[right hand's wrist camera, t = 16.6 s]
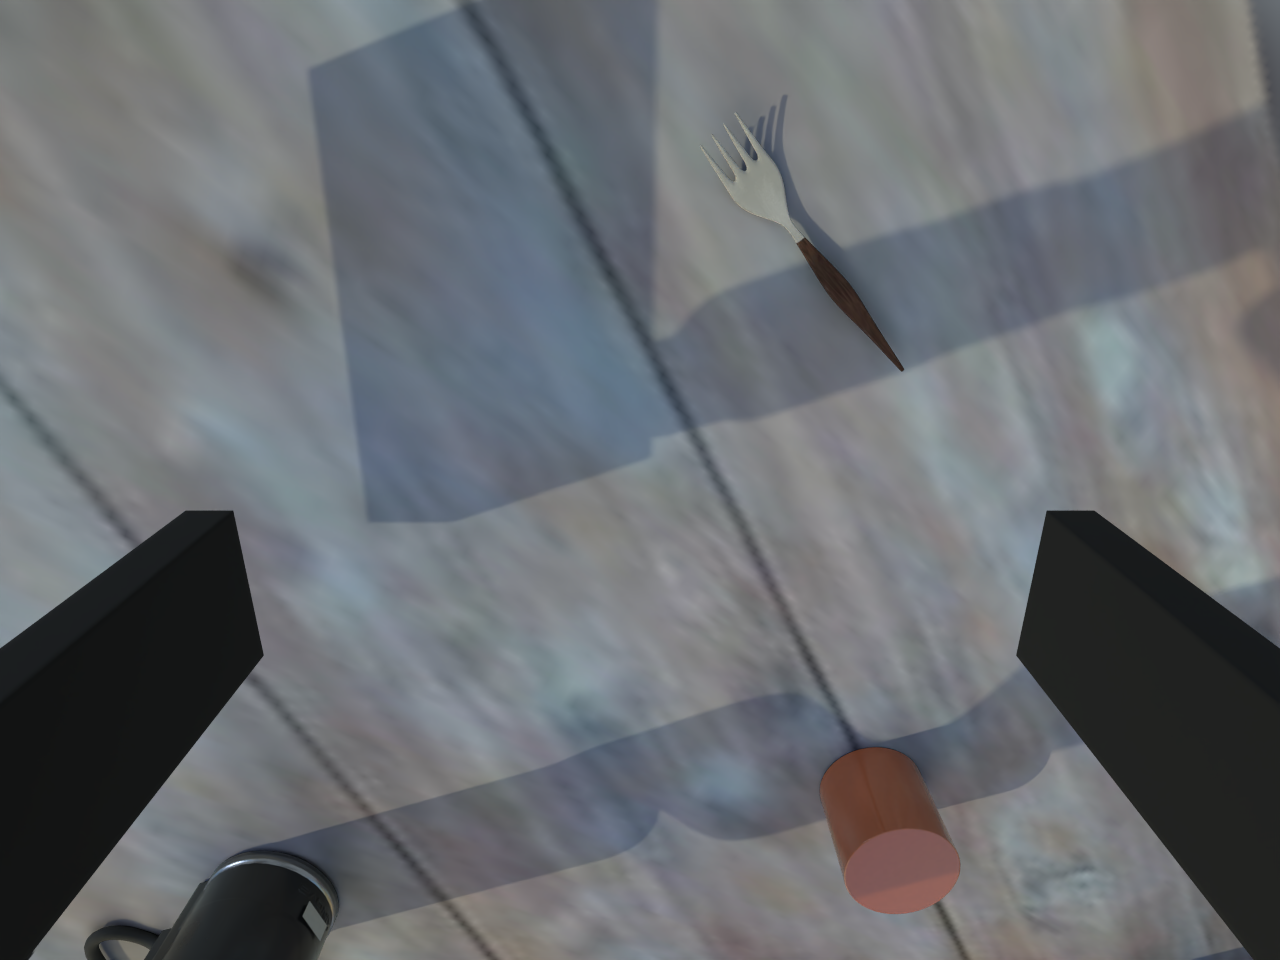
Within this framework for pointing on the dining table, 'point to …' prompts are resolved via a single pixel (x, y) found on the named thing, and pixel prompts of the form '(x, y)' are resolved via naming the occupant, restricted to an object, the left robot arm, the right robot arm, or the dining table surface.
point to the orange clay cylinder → (887, 832)
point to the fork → (791, 227)
